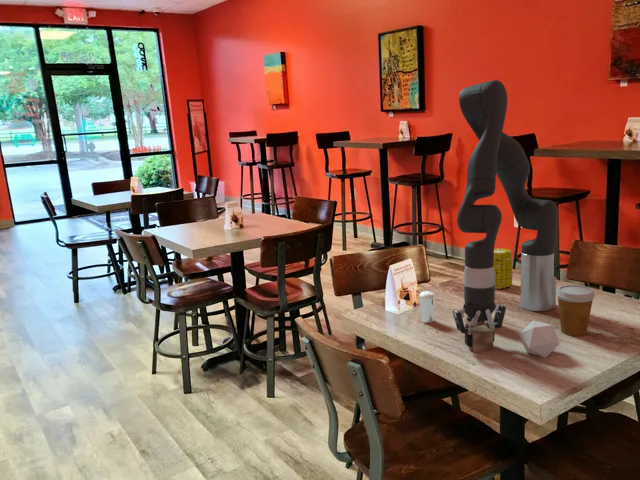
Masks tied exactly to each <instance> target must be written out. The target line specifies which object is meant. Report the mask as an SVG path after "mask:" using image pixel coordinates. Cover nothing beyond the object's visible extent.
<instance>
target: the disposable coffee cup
mask: <svg viewBox="0 0 640 480" xmlns="http://www.w3.org/2000/svg"><path fill="white" fill-rule="evenodd" d="M595 297H596V294H595V293H594V290H593V288H591V287H589V286H585V285H579V284H564V285H560V286H558V288H557V289H556V298H557V304H558V305H557V306H558V313H559V323H560V331H561V333H563V334H564V335H567V336H570V337H571V336H572V337H582V336H585V335H587V333H588V327H589V322H590V316H591V310H592V306H593V302H594V299H595Z"/></svg>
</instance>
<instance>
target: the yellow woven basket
mask: <svg viewBox="0 0 640 480" xmlns="http://www.w3.org/2000/svg"><path fill="white" fill-rule="evenodd" d="M513 268H514V267H513V251H512V250H511V249H508V248H499V247H498V248H494V272H495V291H496V290H498V289H499V290H501V289H506V288H508V287H509V288H511V287H512V286H513V278H514V277H513V276H514V275H513V274H514V273H513Z"/></svg>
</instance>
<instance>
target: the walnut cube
mask: <svg viewBox="0 0 640 480" xmlns="http://www.w3.org/2000/svg"><path fill="white" fill-rule="evenodd" d="M472 335H473V347H472V348H469V349H470V350H471V351H472V352H474V353H480V352H482V353H483V352H487V351H488V352H489V351H493V350H494V342H493V331H492V330H490V329H489V328H488V327H487V326H486V324H485V325H476V326H475V327H474V328H473V331H472Z"/></svg>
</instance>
